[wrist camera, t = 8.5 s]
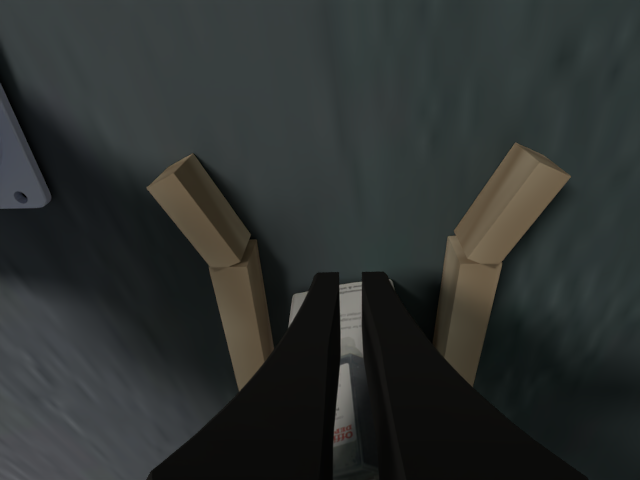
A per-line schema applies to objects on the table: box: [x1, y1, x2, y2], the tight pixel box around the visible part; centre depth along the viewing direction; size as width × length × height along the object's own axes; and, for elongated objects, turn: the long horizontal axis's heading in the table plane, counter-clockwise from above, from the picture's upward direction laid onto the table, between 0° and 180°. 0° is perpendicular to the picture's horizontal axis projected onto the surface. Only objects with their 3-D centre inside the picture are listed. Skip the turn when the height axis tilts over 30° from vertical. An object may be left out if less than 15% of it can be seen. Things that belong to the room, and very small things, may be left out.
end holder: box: [147, 142, 571, 391], centre depth 19 cm, size 14×21×2 cm, turn 3°
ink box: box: [288, 279, 395, 480], centre depth 15 cm, size 9×5×12 cm, turn 14°
